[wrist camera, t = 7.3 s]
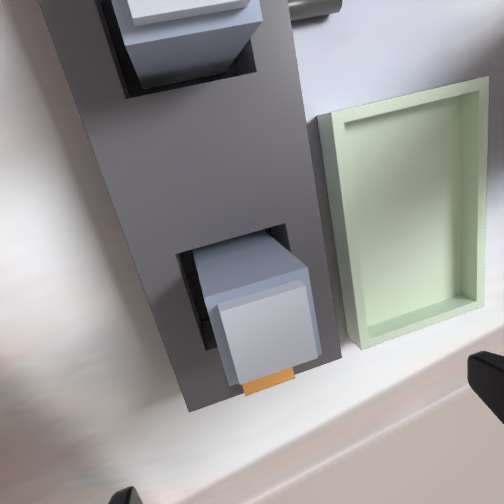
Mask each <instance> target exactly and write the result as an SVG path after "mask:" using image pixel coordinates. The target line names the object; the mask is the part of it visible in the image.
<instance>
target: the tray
mask: <svg viewBox="0 0 504 504" xmlns="http://www.w3.org/2000/svg"><path fill="white" fill-rule="evenodd" d="M488 109H489V76H486V77H482V78H477V79H473V80H469V81H464V82H460V83H456V84H451V85H447V86H443V87H438V88H434V89H430V90H426V91H421V92H417V93H413V94H408V95H404V96H400V97H396V98H391V99H387V100H383V101H378V102H374V103H370V104H366V105H361V106H357V107H353V108H348V109H344V110H340V111H336V112H331V113H327V114H323V115H318V116H317V120H318V127H319V134H320V141H321V148H322V156H323V163H324V170H325V177H326V184H327V191H328V198H329V205H330V212H331V220H332V227H333V234H334V241H335V248H336V255H337V262H338V269H339V276H340V283H341V291H342V298H343V305H344V312H345V319H346V326H347V333H348V337H349V338H350V339H351V340H352V341H353V342H354V343H355V344H356V345H357V346H358V347H359V348H360V349H361V350H363V349H366V348H369V347H372V346H375V345H377V344H380V343H383V342H386V341H389V340H391V339H394V338H397V337H400V336H403V335H405V334H408V333H411V332H414V331H417V330H419V329H422V328H425V327H428V326H430V325H433V324H436V323H439V322H442V321H444V320H447V319H450V318H453V317H456V316H458V315H461V314H464V313H467V312H470V311H472V310H475V309H478V308H481V307H484V286H485V242H486V197H487V153H488Z"/></svg>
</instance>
